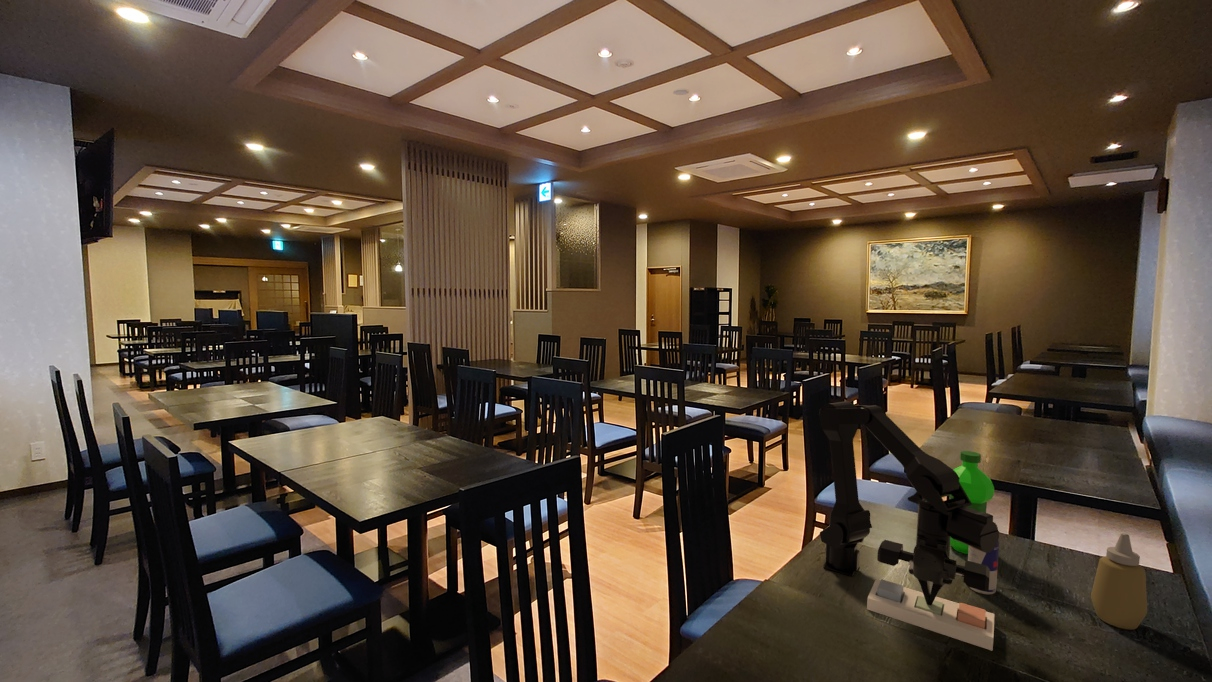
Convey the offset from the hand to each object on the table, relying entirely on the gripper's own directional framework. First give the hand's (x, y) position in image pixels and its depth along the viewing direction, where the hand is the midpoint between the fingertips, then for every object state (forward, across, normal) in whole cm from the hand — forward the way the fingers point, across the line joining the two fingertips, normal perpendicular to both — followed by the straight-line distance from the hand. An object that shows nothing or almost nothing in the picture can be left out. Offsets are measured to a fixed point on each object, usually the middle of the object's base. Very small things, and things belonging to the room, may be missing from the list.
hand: (929, 604), depth 106 cm
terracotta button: (+1, +7, 0) cm, 7 cm away
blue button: (+1, -7, 0) cm, 7 cm away
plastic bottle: (+3, +4, +38) cm, 38 cm away
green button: (+2, 0, 0) cm, 2 cm away
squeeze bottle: (+3, +30, +21) cm, 37 cm away
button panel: (+3, 0, 0) cm, 3 cm away
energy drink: (+3, +8, +19) cm, 21 cm away
